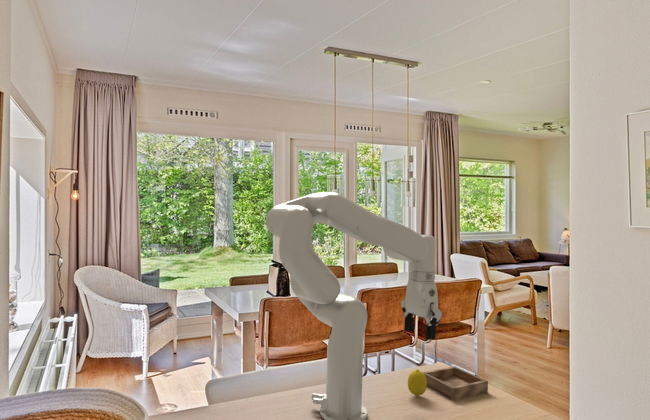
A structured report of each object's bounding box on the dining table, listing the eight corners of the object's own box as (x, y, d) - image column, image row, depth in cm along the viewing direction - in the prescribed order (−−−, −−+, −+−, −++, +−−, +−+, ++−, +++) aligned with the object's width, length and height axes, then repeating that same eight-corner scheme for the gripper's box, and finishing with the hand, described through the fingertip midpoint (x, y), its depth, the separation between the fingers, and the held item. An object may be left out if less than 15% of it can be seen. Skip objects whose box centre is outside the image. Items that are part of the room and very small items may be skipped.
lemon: (426, 401, 128) (427, 373, 128) (407, 399, 129) (407, 372, 129) (426, 394, 133) (426, 367, 133) (407, 392, 134) (408, 365, 135)
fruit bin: (452, 400, 129) (453, 388, 129) (421, 383, 141) (421, 372, 141) (487, 392, 136) (487, 381, 136) (454, 376, 148) (454, 366, 148)
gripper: (451, 280, 125) (449, 341, 125) (413, 272, 141) (411, 326, 141) (431, 281, 122) (429, 344, 122) (393, 273, 137) (391, 328, 137)
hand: (419, 334), depth 131 cm, fingers open, 9 cm apart
